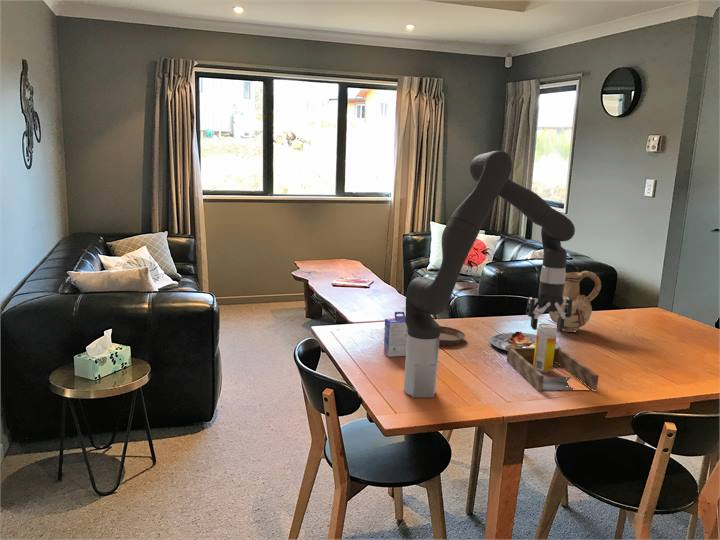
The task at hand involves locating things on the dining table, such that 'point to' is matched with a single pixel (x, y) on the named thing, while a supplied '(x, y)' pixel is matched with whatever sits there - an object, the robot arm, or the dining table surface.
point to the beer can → (544, 347)
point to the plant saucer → (450, 336)
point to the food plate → (515, 340)
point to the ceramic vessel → (577, 300)
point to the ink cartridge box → (395, 336)
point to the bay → (521, 364)
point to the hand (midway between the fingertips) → (546, 329)
